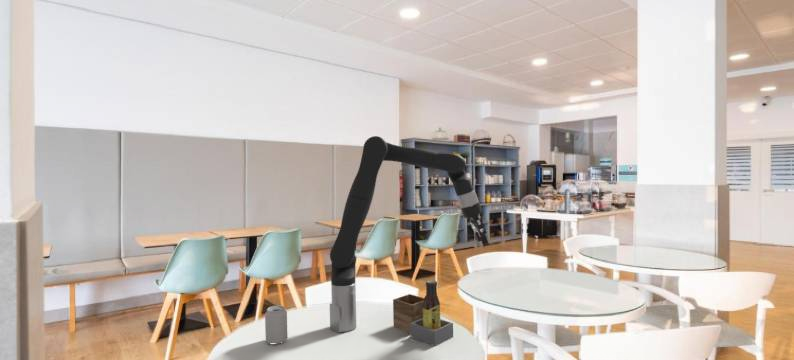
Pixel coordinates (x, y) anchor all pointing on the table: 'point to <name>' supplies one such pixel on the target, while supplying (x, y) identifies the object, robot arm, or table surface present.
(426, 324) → the sauce bottle
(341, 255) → the robot arm
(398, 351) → the table surface
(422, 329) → the low holder
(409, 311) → the box
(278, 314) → the can
